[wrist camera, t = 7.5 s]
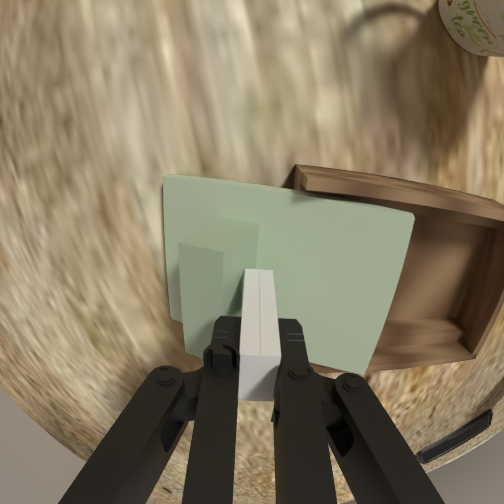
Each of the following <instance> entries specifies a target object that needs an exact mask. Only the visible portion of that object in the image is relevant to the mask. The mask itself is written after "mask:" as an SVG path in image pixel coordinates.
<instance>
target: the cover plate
mask: <svg viewBox="0 0 504 504" xmlns="http://www.w3.org/2000/svg"><path fill="white" fill-rule="evenodd" d="M163 209H164V236H165V255H166V270H167V283H168V295H169V306H170V316H171V319H173V320H176V321H179V322H181V323H183V332H184V343H185V353H188V354H190V355H193V356H196V357H198V358H201V359H203V352H204V350H205V348H206V347H208V346H209V345H210V344H211V339H212V334H213V328H214V323H215V321H216V320H217V319H218V318H219V317H220V315H221V316H235V317H242V307H243V292H244V278H245V269H260V270H273V277H274V286H275V296H276V306H277V317H278V318H287V319H297V320H298V322H299V323H300V324H301V325H302V329H303V335H304V339H305V344H306V350H307V355H308V360H309V362H311V363H314V364H318V365H322V366H327V367H331V368H335V369H339V370H343V371H348V372H352V373H357V374H362V375H364V374H365V372H366V369H367V367H368V365H369V362H370V360H371V357H372V355H373V352H374V350H375V347H376V345H377V342H378V340H379V337H380V334H381V332H382V329H383V326H384V323H385V321H386V318H387V315H388V312H389V309H390V306H391V303H392V300H393V297H394V294H395V291H396V287H397V284H398V281H399V278H400V274H401V271H402V267H403V264H404V260H405V256H406V253H407V249H408V245H409V241H410V237H411V233H412V229H413V224H414V220H415V217H414V215H413V213H409V212H405V211H401V210H396V209H392V208H387V207H383V206H378V205H373V204H368V203H364V202H359V201H354V200H348V199H343V198H338V197H333V196H327V195H321V194H316V193H310V192H304V191H298V190H292V189H286V188H279V187H273V186H266V185H259V184H252V183H245V182H237V181H229V180H221V179H213V178H204V177H195V176H185V175H175V174H171V175H167V176H164V177H163Z"/></svg>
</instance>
